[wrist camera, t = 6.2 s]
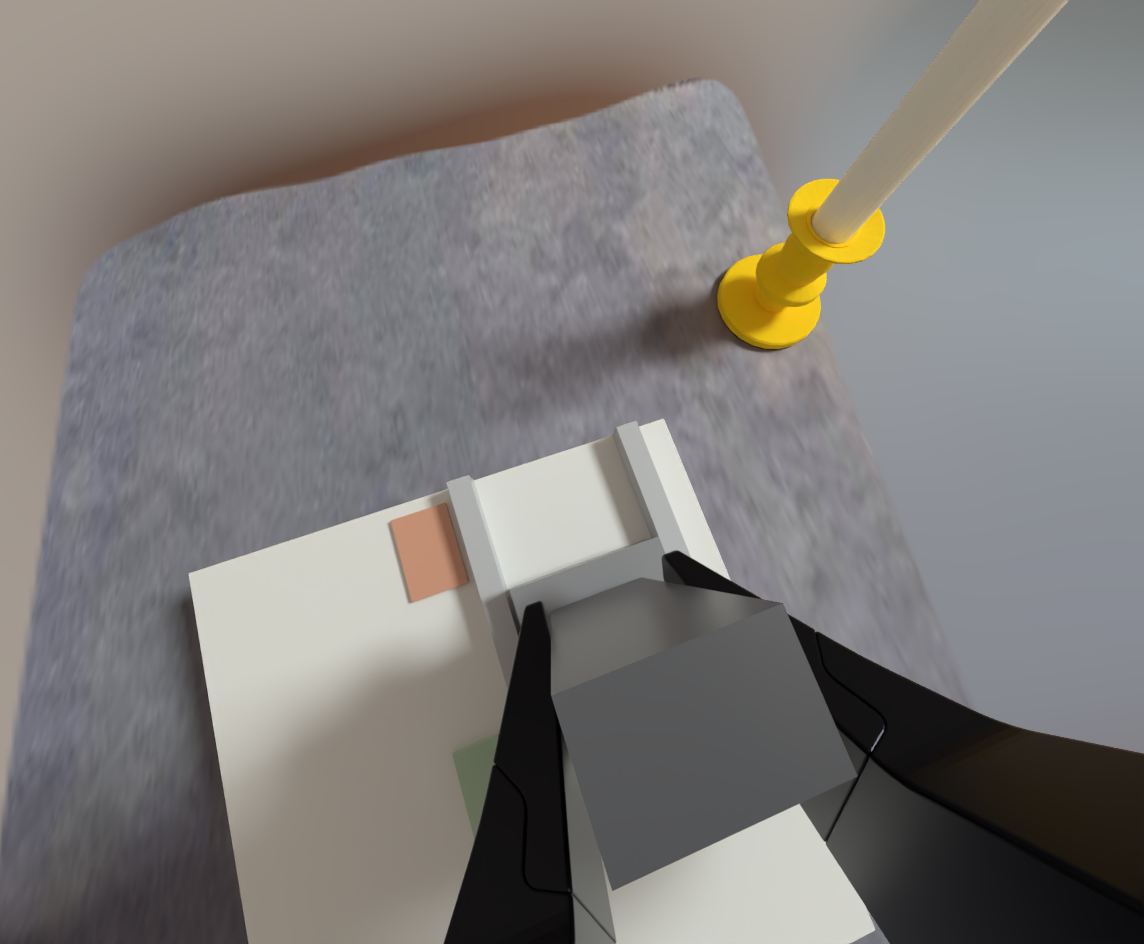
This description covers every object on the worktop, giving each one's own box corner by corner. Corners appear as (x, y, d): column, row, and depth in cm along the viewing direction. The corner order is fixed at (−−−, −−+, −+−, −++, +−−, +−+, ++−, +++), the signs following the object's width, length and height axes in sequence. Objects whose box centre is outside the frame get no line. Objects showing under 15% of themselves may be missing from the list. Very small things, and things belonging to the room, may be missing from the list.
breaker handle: (686, 648, 14) (974, 835, 5) (551, 702, 14) (552, 1051, 4) (644, 539, 15) (816, 500, 5) (515, 586, 14) (440, 639, 5)
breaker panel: (815, 861, 16) (901, 960, 12) (349, 1089, 14) (269, 1300, 10) (646, 440, 19) (670, 409, 15) (251, 571, 17) (161, 574, 13)
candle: (835, 314, 21) (1559, -313, 6) (764, 369, 20) (1400, -202, 5) (767, 244, 22) (1258, -474, 7) (696, 293, 21) (1074, -404, 6)
